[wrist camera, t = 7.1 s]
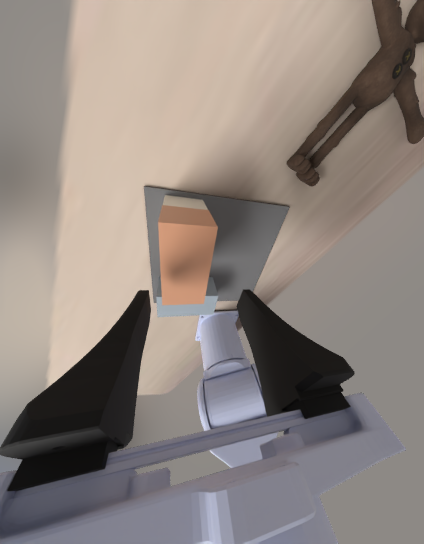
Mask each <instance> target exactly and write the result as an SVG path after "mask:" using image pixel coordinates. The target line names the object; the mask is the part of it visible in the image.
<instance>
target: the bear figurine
mask: <svg viewBox="0 0 424 544" xmlns="http://www.w3.org/2000/svg"><path fill="white" fill-rule="evenodd" d="M372 4H373V9H374V14H375V19H376V24H377V28H378V33H379V37H380V41H381V45H382V46H381V48H380V50H379V51H378V53H377V54H376V55H375V56H374V57H373V58H372V59H371V60H370V61H369V62H368V64H367V66H366V67H365V68H364V69H363V70H362V71H361V72H360V74H359V75H358V76H357V77H356V79H355V80H354V82H353V83H352V85H351V87H350V88H349V89H348V91H347V92H346V93H345V94H344V95H343V97H342V98H341V99H340V100H339V101H338V103H337V104H336V105H335V106H334V107H333V109H332V110H331V111H330V112H329V113H328V115H327V116H326V117H325V118H324V119H323V120H321V121H320V122H319V124H318V125H317V128H316V129H315V130H314V131H313V132H312V133H311V134H310V135H309V136H308V137H307V139H306V141H305V142H304V143H303V145H302V146H301V147H300V148H299V149H298V151H297V152H296V153H295V154H294V155H293V156H292V157H291V158H290V159H289V160H288V161H287V165H288V166H289V167H290V168H291V169H292V170H294V171H296V172H297V173H296V176H297V177H298V178H299V179H300V180H301V181H303V182H304V183H306V184H307V185H309V186H314V185H316V184H317V183H318V181H319V179H320V178H319V174H318V173H317V172H316V171H315V170H314V168H316V167H317V166H318V165H319V164H320V163H321V161H322V160H323V159H324V157H325V156H326V155H327V154H328V153H329V152H330V151H331V150H332V149H333V148H334V147H336V146H337V145H338V144H339V142H340V140H341V139H342V138H343V137H344V136H345V135H346V134H347V133H348V132H349V131H350V130H351V129H352V127H353V126H354V125H355V124H356V123H357V122H358V121H359V120H360V119H361V118H362V117H363V116H364V115H365V114H366V113H367V112H368V111H369V110H371V109H372V108H374V107H376V106H378V105H379V104H381V103H382V102H384V101H385V100H386V99H387V98H388V97H389V96H390V94H391V93H392V92H393V91H394V97H396V99H397V100H398V103H399V105H400V108H401V110H402V113H403V116H404V119H405V123H406V129H407V137H408V141H409V142H410V143H412V144H415V143H418V142H419V141H420V140H421V139H422V138H423V137H424V118H423V117H422V115H421V112H420V109H419V104H418V102H419V100H418V97H417V95H416V92H415V86H414V79H415V78H416V73H415V72H414V71H413V70H412V69H410V66H411V65H412V63H413V61H414V57H415V47H416V44H415V43H420V42H424V0H418V1H417V2H416V3H415V5H414V6H413V7H412V9H411V11H410V12H409V15H408V17H407V20H406V25H405V29H404V28H403V27H402V26H401V16H402V10H401V8H400V7H399V5H400V1H399V2H398V1H397V0H372ZM352 102H353V104H354V105H355V107H356V108H355V110H354V111H353V112H352V113H351V114H350V115H349V116H348V117H347V118H346V119H345V121H344V122H343V123H342V124H341V125H340V126H339V127H338V128H337V129H336V131H335V132H334V133H333V134H332V135H331V136H330V137H329V138H328V139H327V141H326V142H325V143H324V144H323V145H322V146H321V147H320V148H319V149H318V151H317V152H316V153H315V154H314V155H313V156H312V157H311V158H310V159H309V160H308V159H305V156H306V155H307V154H308V153H309V152H310V150H311V149H312V148H313V147H314V146H315V145H316V144H317V142H318V141H320V140H321V139H322V138H323V137H324V135H325V134H326V132H327V131H328V130H329V129H330V127H331V126H332V125H333V124H334V123H335V122H336V121H337V119H338V118H339V117H340V116H341V115H342V114H343V113H344V111H345V110H346V109H347V108H348V107H349V106H350V105H351V103H352Z"/></svg>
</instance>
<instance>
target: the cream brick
mask: <svg viewBox="0 0 424 544" xmlns="http://www.w3.org/2000/svg"><path fill="white" fill-rule="evenodd" d="M163 205H166V206H176V207H185V208H194V209H203V210H208V209H207V207H206V205H205V203H204V201H203V200H200V199H192V198H185V197H177V196H170V195H165V197H164V201H163Z"/></svg>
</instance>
